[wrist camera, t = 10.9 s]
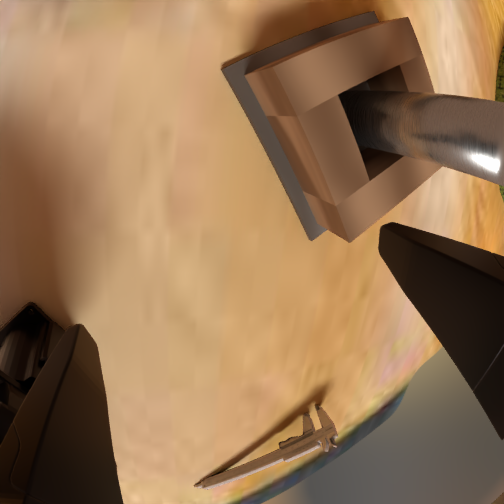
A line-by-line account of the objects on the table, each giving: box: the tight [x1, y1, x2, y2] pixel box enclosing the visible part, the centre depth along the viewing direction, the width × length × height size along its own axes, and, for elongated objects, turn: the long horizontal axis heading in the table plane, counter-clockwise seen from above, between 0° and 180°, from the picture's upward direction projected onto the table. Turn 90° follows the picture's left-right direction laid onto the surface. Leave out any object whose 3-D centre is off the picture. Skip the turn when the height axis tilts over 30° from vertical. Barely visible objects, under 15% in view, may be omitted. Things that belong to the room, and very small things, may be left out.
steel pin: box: [338, 90, 504, 186], centre depth 16 cm, size 4×4×13 cm
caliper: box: [194, 405, 338, 490], centre depth 32 cm, size 20×1×6 cm, turn 125°
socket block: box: [221, 11, 442, 243], centre depth 20 cm, size 14×14×4 cm
